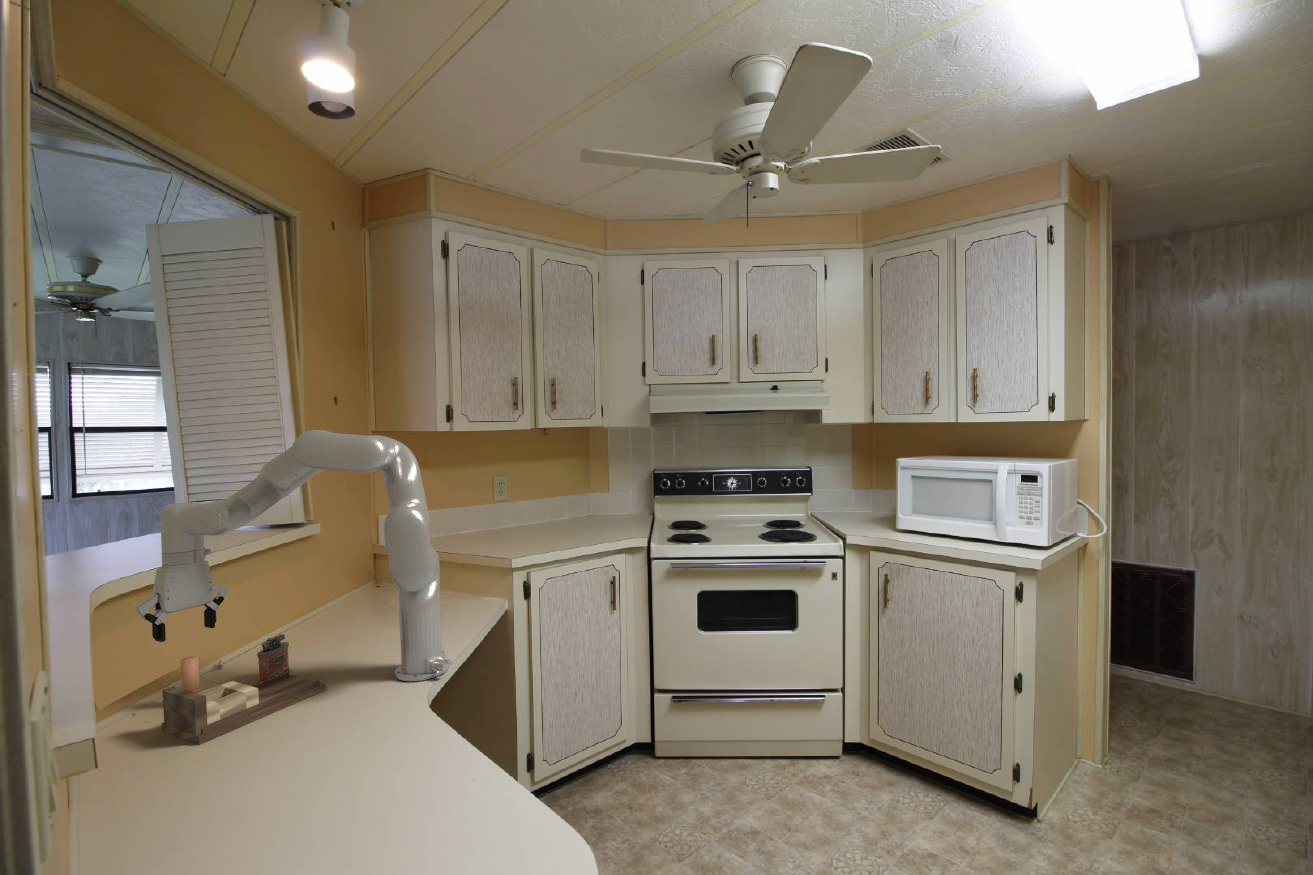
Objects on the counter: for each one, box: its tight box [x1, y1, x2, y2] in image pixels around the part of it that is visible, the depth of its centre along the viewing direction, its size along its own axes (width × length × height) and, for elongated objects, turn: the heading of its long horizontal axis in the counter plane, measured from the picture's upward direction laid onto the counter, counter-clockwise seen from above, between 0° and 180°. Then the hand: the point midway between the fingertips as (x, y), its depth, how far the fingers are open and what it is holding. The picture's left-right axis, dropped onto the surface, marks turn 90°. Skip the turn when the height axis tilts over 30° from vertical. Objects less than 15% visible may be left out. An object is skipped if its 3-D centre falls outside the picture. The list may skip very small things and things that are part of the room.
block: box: [197, 680, 259, 725], centre depth 126 cm, size 10×10×4 cm
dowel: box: [179, 655, 201, 693], centre depth 135 cm, size 3×3×10 cm
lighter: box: [256, 633, 291, 683], centre depth 147 cm, size 8×3×10 cm, turn 168°
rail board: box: [161, 672, 327, 746], centre depth 131 cm, size 14×26×8 cm, turn 153°
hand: (185, 633), depth 134 cm, fingers open, 9 cm apart
